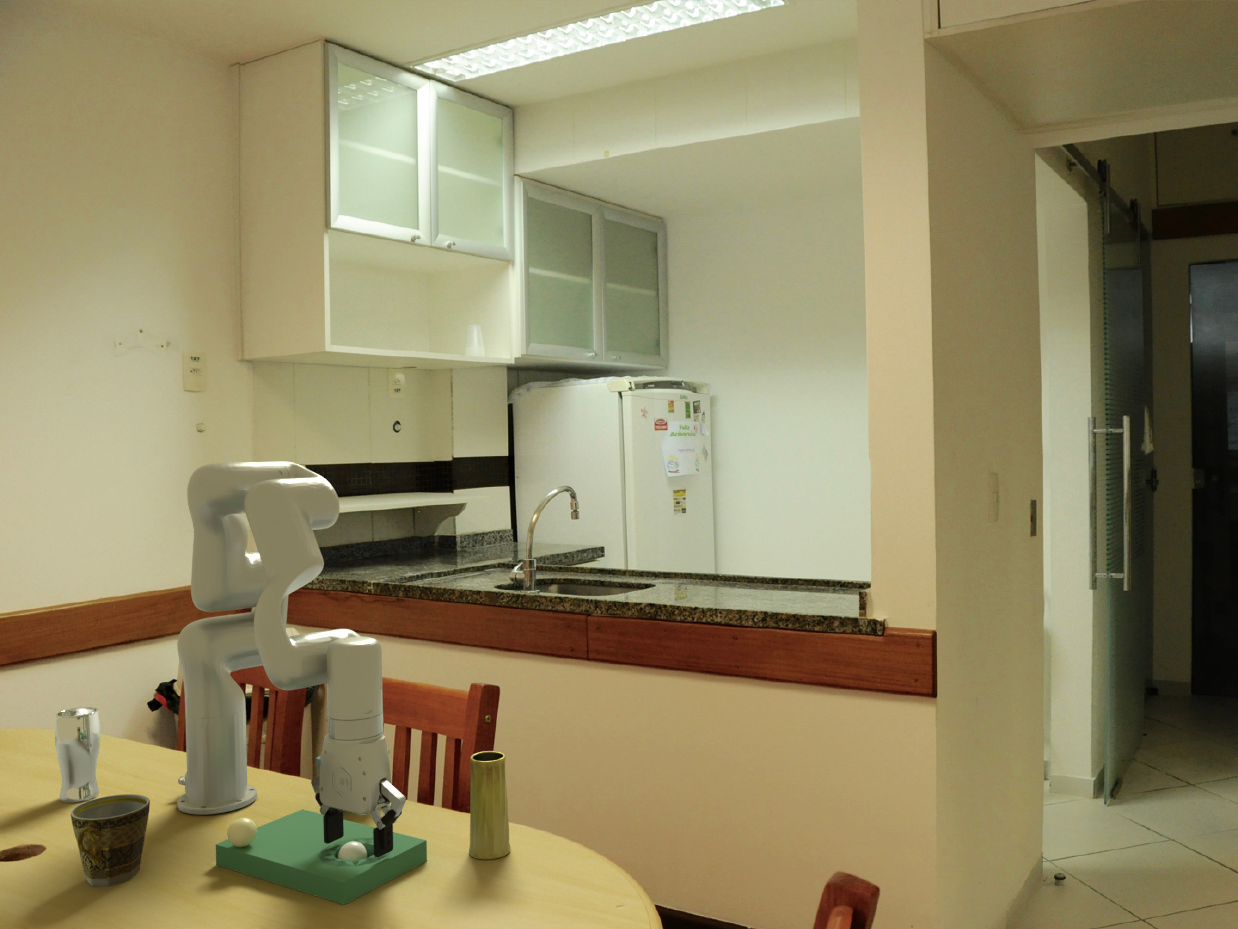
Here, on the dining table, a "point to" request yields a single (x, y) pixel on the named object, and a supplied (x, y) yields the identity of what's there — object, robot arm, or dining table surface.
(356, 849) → the white ball
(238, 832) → the yellow ball
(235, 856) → the putting mat
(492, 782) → the vase
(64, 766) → the beer glass
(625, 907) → the dining table surface
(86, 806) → the ceramic cup
